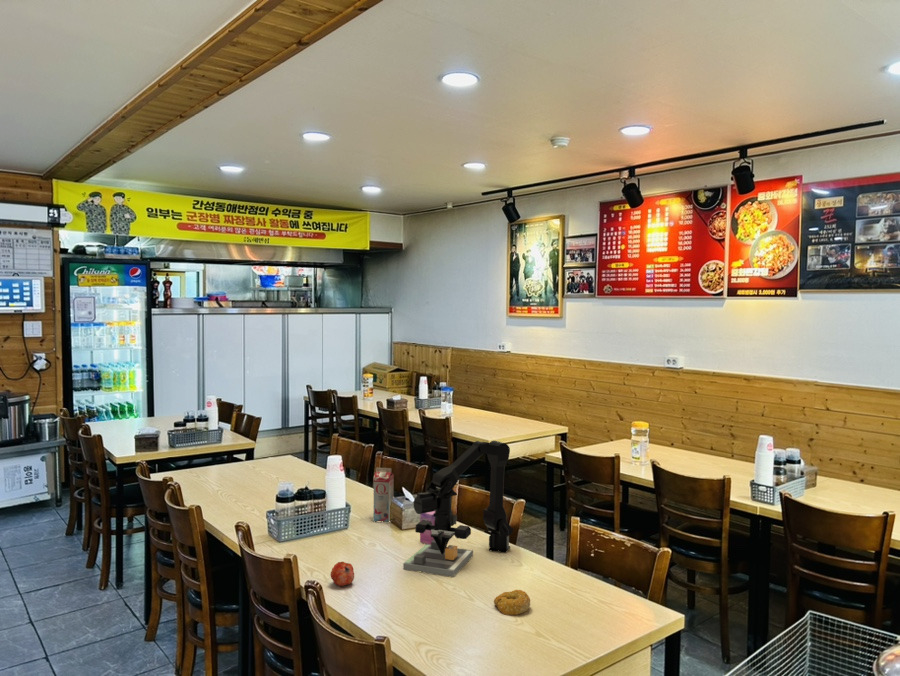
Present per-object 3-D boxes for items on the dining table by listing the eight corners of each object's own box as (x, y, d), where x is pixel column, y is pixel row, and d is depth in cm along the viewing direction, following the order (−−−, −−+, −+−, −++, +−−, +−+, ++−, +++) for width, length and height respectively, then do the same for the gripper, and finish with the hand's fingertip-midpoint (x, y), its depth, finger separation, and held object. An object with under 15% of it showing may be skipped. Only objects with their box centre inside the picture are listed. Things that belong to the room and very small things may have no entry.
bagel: (505, 597, 194) (505, 581, 194) (536, 608, 187) (537, 592, 187) (486, 609, 186) (486, 593, 186) (518, 621, 179) (518, 604, 179)
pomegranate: (327, 591, 203) (335, 581, 195) (326, 568, 207) (334, 557, 200) (350, 590, 206) (358, 580, 198) (348, 567, 210) (357, 556, 203)
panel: (472, 556, 227) (472, 543, 227) (453, 577, 208) (453, 563, 208) (426, 549, 234) (426, 537, 233) (403, 569, 215) (403, 556, 215)
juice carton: (388, 522, 264) (389, 470, 263) (373, 521, 265) (373, 469, 264) (393, 518, 270) (393, 466, 269) (378, 517, 271) (378, 465, 271)
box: (431, 545, 237) (431, 514, 237) (419, 542, 241) (419, 511, 240) (448, 538, 246) (448, 507, 245) (436, 535, 249) (436, 505, 249)
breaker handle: (457, 556, 221) (457, 545, 221) (453, 560, 217) (453, 549, 217) (449, 554, 222) (449, 544, 222) (445, 558, 218) (445, 548, 218)
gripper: (476, 505, 224) (475, 549, 225) (427, 500, 231) (426, 542, 231) (465, 514, 214) (465, 560, 214) (414, 508, 220) (414, 553, 221)
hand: (442, 553), depth 220 cm, fingers closed
